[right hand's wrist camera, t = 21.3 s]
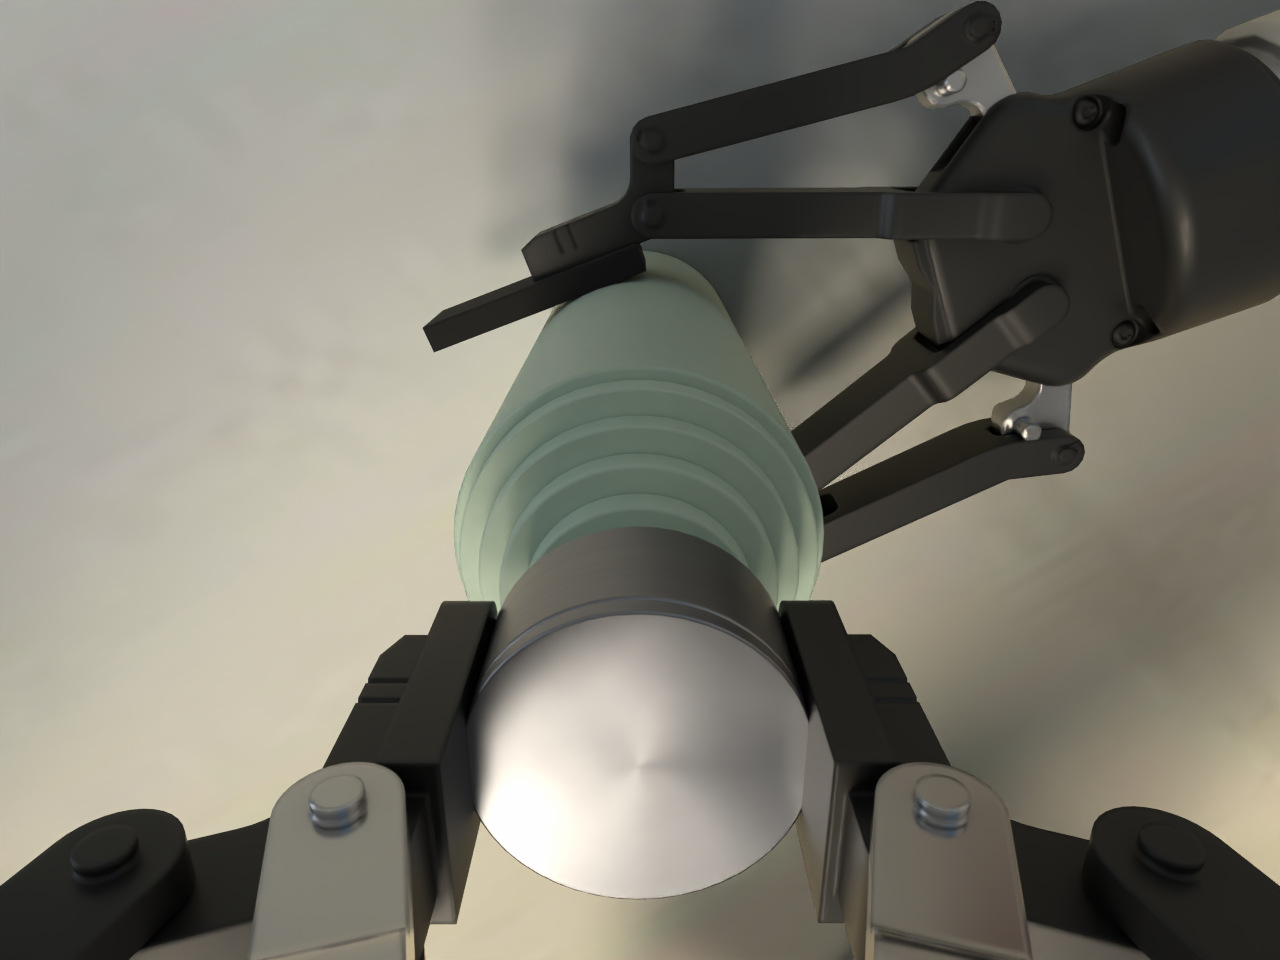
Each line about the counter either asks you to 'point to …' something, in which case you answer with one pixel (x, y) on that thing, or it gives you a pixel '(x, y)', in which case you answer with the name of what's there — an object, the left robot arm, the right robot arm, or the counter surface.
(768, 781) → the cap
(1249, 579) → the counter surface
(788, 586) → the bottle
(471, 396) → the counter surface
